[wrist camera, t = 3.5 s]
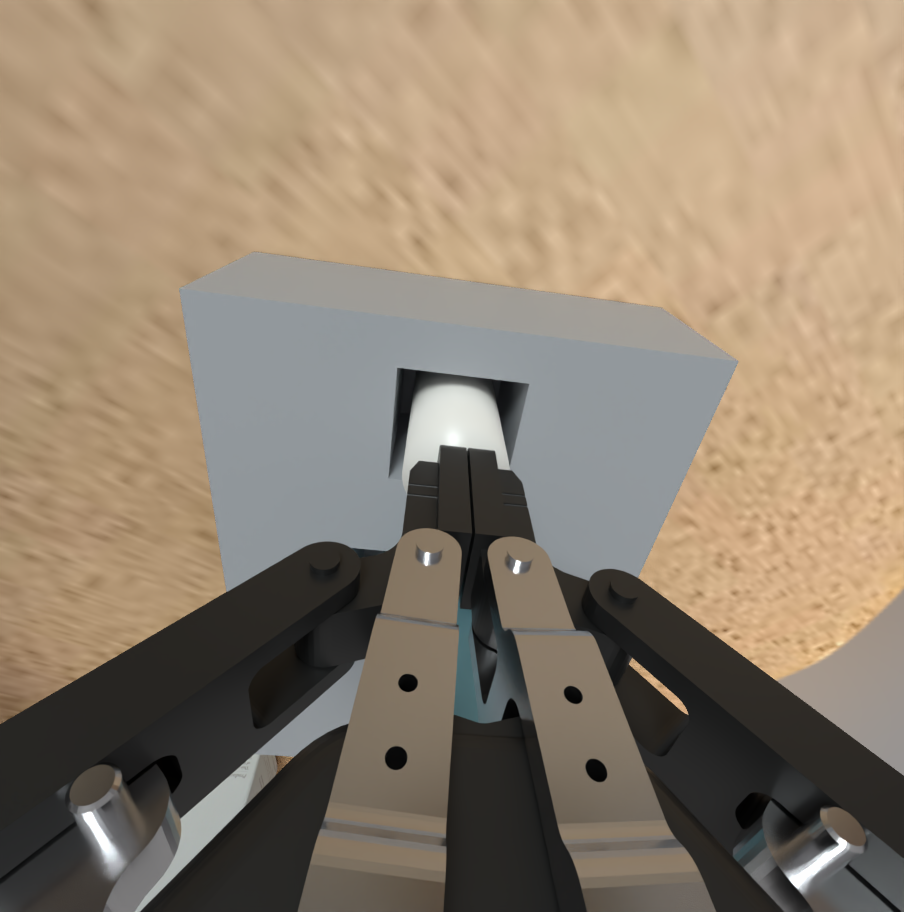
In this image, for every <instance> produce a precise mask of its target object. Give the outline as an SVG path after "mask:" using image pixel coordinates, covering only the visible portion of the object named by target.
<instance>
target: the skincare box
mask: <svg viewBox="0 0 904 912" xmlns="http://www.w3.org/2000/svg"><path fill="white" fill-rule="evenodd" d="M276 772H277V762H276V757H275V755H258V754H254V755H253V756H252V757H250V758H249V759H248V760H247V761H246V762H245V763H244V764H242V765H241V766H240V767H239V768H238V769H237V770H236V771H234V772H233V773H232V774H231V775H230V776H229V777H228V778H226V779H225V780H224V781H223V782H222V783H221V784H220V785H219V786H217V787H216V788H215V789H214V790H213V791H212V792H211V793H209V794H208V795H207V796H206V797H205V798H204V799H203V800H201V801H200V802H199V803H198V804H197V805H196V806H195V807H193V808H192V809H191V810H190V811H189V812H188V813H187V814H185V815H184V816H183V817H182V818H181V819H180V820H181V838H180V842H179V846H178V849H177V852H176V854H175V857H174V859H173V861H172V862H171V864H170V866H169V868H168V869H167V871H166V872H165V874H164V875H163V876H162V878H161V879H160V880H159V881H158V882H157V883H156V885H155V886H154V887H153V888H152V889H151V890H150V891H149V893H148V894H147V895H146V896H145V897H144V899H143V900H142V902H141V903H140V905H139V906H138V907H137V909H136V911H135V912H140V911H141V910H142V909H143V908H144V907H145V906H146V905H147V904H148V903H149V902H150V901H151V900H152V899H153V898H154V897H155V896H156V895H157V894H158V893H159V892H160V891H161V890H162V889H163V888H164V887H165V886H166V885H167V884H168V883H169V882H170V881H171V880H172V879H173V878H174V877H175V876H176V875H177V874H178V873H179V872H180V871H181V870H182V869H183V868H184V867H185V866H186V865H187V864H188V863H189V862H190V861H191V860H192V859H193V858H194V857H195V856H196V855H197V854H198V853H199V852H200V851H201V850H202V849H203V848H204V847H205V846H206V845H207V844H208V843H209V842H210V841H211V840H212V839H213V838H214V837H215V836H216V835H217V834H218V833H219V832H220V831H221V830H222V829H223V828H224V827H225V826H226V825H227V824H228V823H229V822H230V821H231V820H232V819H233V818H234V817H235V816H236V815H237V814H238V813H239V812H240V811H241V810H242V809H243V808H244V807H245V806H246V805H247V804H248V803H249V802H250V801H251V800H252V799H253V798H254V797H255V796H256V795H257V794H258V793H259V792H260V791H261V790H262V789H263V788H264V787H265V786H266V785H267V784H268V783H269V782H270V781H271V780H272V779H273V778H274V777H275V776H276Z"/></svg>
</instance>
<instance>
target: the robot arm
mask: <svg viewBox="0 0 904 912" xmlns="http://www.w3.org/2000/svg"><path fill="white" fill-rule="evenodd" d="M459 596H460V609H470V610H471V613H472V622H471V627H470V631H469V636H468V638H469V648H470V656H471V663H472V671H473V679H474V687H475V695H476V702H477V710H478V722H475V721H472V720H469V719H466V718H463V717H460V716H457V715H454V701H455V686H456V671H457V656H458V641H459V625H457V612H458V601H459ZM632 658H633V659H635V660H636V661H637V662H638V663H639V664H640V665H641V666H643V667H644V668H645V669H646V670H647V671H648V672H649V673H651V674H652V675H653V676H654V677H655V678H656V679H657V680H659V681H660V682H661V683H662V684H663V685H664V686H666V687H667V688H668V689H669V690H670V691H671V692H672V693H674V694H675V695H676V696H677V697H678V698H679V699H680V700H681V701H682V702H683V704H684V705H685V707H686V709H687V711H688V714H689V715H687V714H685V713H683V712H682V711H681V710H679V709H678V708H677V707H676V706H675V705H674V704H673V703H671V702H670V701H669V700H668V699H667V698H666V697H665V696H664V695H662V694H661V693H660V692H659V691H658V690H657V689H656V688H655V687H653V686H652V685H651V684H650V683H649V682H648V681H647V680H646V679H644V678H643V677H642V676H641V675H640V674H639V673H638V672H637V671H635V670H634V669H633V668H632V667H631V666H630V665H629V663H630V661H631V659H632ZM363 659H365V661H364V665H363V669H362V673H361V677H360V681H359V685H358V689H357V693H356V697H355V701H354V705H353V709H352V713H351V717H350V721H349V724H346V725H343V726H340V727H338V728H336V729H333V730H331V731H329V732H327V733H325V734H324V735H322V736H321V737H319V738H317V739H316V740H314V741H313V742H311V743H310V744H309V745H308V746H306V747H305V748H304V749H302V750H301V751H300V752H299V753H298V754H297V755H296V756H295V757H294V758H293V759H292V760H291V761H290V762H289V763H288V764H287V765H286V766H285V767H284V768H283V769H282V770H281V771H280V772H279V773H278V774H277V775H276V776H275V777H274V778H273V779H272V780H271V781H270V782H269V783H268V784H267V785H266V786H265V787H264V788H263V789H262V790H261V791H260V792H259V793H258V794H257V795H256V796H255V797H254V798H253V799H252V800H251V801H250V802H249V803H248V804H247V805H246V806H245V807H244V808H243V809H242V810H241V811H240V812H239V813H238V814H237V815H236V816H235V817H234V818H233V819H232V820H231V821H230V822H229V823H228V824H227V825H226V826H225V827H224V828H223V829H222V830H221V831H220V832H219V833H218V834H217V835H216V836H215V837H214V838H213V839H212V840H211V841H210V842H209V843H208V844H207V845H206V846H205V847H204V848H203V849H202V850H201V851H200V852H199V853H198V854H197V855H196V856H195V857H194V858H193V859H192V860H191V861H190V862H189V863H188V864H187V865H186V866H185V867H184V868H183V869H182V870H181V871H180V872H179V873H178V874H177V875H176V876H175V877H174V878H173V879H172V880H171V881H170V882H169V883H168V884H167V885H166V886H165V887H164V888H163V889H162V890H161V891H160V892H159V893H158V894H157V895H156V896H155V897H154V898H153V899H152V900H151V901H150V902H149V903H148V904H147V905H146V906H145V907H144V908H143V909H142V910H141V911H140V912H904V776H903V775H902V774H901V773H899V772H898V771H896V770H895V769H894V768H892V767H891V766H890V765H888V764H887V763H886V762H884V761H883V760H882V759H880V758H879V757H878V756H876V755H875V754H874V753H872V752H871V751H870V750H868V749H867V748H866V747H864V746H863V745H862V744H860V743H859V742H858V741H856V740H855V739H853V738H852V737H851V736H850V735H848V734H847V733H845V732H844V731H843V730H841V729H840V728H839V727H837V726H836V725H835V724H833V723H832V722H831V721H829V720H828V719H827V718H825V717H824V716H823V715H821V714H820V713H819V712H817V711H816V710H815V709H813V708H812V707H811V706H809V705H808V704H807V703H805V702H804V701H803V700H801V699H800V698H798V697H797V696H795V695H794V694H793V693H792V692H790V691H789V690H788V689H786V688H785V687H784V686H782V685H781V684H780V683H778V682H777V681H776V680H774V679H773V678H772V677H770V676H769V675H768V674H766V673H765V672H764V671H762V670H761V669H760V668H758V667H757V666H756V665H754V664H753V663H752V662H750V661H749V660H747V659H746V658H745V657H743V656H742V655H741V654H739V653H738V652H737V651H735V650H734V649H733V648H731V647H730V646H729V645H727V644H726V643H725V642H723V641H722V640H721V639H719V638H718V637H717V636H715V635H714V634H713V633H711V632H710V631H709V630H707V629H706V628H705V627H703V626H702V625H701V624H699V623H698V622H696V621H695V620H694V619H692V618H691V617H690V616H688V615H687V614H686V613H684V612H683V611H682V610H680V609H679V608H678V607H676V606H675V605H674V604H672V603H671V602H670V601H668V600H667V599H666V598H664V597H663V596H662V595H660V594H659V593H658V592H656V591H655V590H654V589H652V588H651V587H649V586H648V585H647V584H645V583H644V582H643V581H641V580H640V579H638V578H637V577H635V576H633V575H632V574H629V573H627V572H624V571H621V570H617V569H602V570H599V571H597V572H595V573H594V574H593V575H592V576H591V577H590V580H589V581H588V580H585V579H582V578H579V577H576V576H573V575H570V574H568V573H565V572H563V571H561V570H559V569H557V568H555V567H554V566H552V563H551V560H550V558H549V556H548V554H547V553H546V552H545V551H544V550H543V548H541V547H540V546H539V545H537V544H536V540H535V536H534V532H533V527H532V523H531V519H530V514H529V510H528V508H527V501H526V497H525V492H524V488H523V483H522V481H521V480H520V479H519V478H518V477H517V476H516V474H515V473H514V472H513V471H512V470H503V469H498V465H497V459H496V453H495V451H494V450H485V449H476V448H468V450H467V448H466V447H457V446H448V445H440V447H439V453H438V460H437V462H427V461H418V462H417V463H416V464H415V466H414V467H413V468H412V469H411V470H410V474H409V482H408V490H407V498H406V507H405V515H404V523H403V531H402V536H401V538H400V540H399V542H398V543H397V544H396V545H395V546H394V547H393V548H391V549H390V550H388V551H386V552H384V553H381V554H378V555H373V556H368V557H361V558H359V556H358V555H357V553H356V552H355V551H354V550H353V549H352V548H350V547H348V546H347V545H344V544H342V543H338V542H331V541H324V542H317V543H313V544H310V545H307V546H305V547H303V548H301V549H300V550H298V551H296V552H294V553H293V554H291V555H289V556H288V557H286V558H284V559H282V560H281V561H279V562H277V563H276V564H274V565H272V566H270V567H269V568H267V569H265V570H264V571H262V572H260V573H258V574H257V575H255V576H253V577H252V578H250V579H248V580H246V581H245V582H243V583H241V584H240V585H238V586H236V587H234V588H233V589H231V590H229V591H228V592H226V593H224V594H223V595H221V596H219V597H217V598H216V599H214V600H212V601H211V602H209V603H207V604H205V605H204V606H202V607H200V608H199V609H197V610H195V611H193V612H192V613H190V614H188V615H187V616H185V617H183V618H181V619H180V620H178V621H176V622H175V623H173V624H171V625H169V626H168V627H166V628H164V629H163V630H161V631H159V632H157V633H156V634H154V635H152V636H151V637H149V638H147V639H145V640H144V641H142V642H140V643H139V644H137V645H135V646H134V647H132V648H130V649H128V650H127V651H125V652H123V653H122V654H120V655H118V656H116V657H115V658H113V659H111V660H110V661H108V662H106V663H104V664H103V665H101V666H99V667H98V668H96V669H94V670H92V671H91V672H89V673H87V674H86V675H84V676H82V677H80V678H79V679H77V680H75V681H74V682H72V683H70V684H68V685H67V686H65V687H63V688H62V689H60V690H58V691H56V692H55V693H53V694H51V695H50V696H48V697H46V698H45V699H43V700H41V701H39V702H38V703H36V704H34V705H33V706H31V707H29V708H27V709H26V710H24V711H22V712H21V713H19V714H17V715H15V716H14V717H12V718H10V719H9V720H7V721H5V722H3V723H2V724H0V912H135V911H136V909H137V907H138V906H139V905H140V903H141V902H142V900H143V899H144V897H145V896H146V895H147V894H148V893H149V891H150V890H151V889H152V888H153V887H154V886H155V885H156V883H157V882H158V881H159V880H160V879H161V878H162V876H163V875H164V874H165V872H166V871H167V869H168V868H169V866H170V864H171V862H172V861H173V859H174V857H175V854H176V852H177V849H178V846H179V842H180V838H181V820H180V819H181V818H182V817H183V816H184V815H185V814H187V813H188V812H189V811H190V810H191V809H192V808H193V807H195V806H196V805H197V804H198V803H199V802H200V801H201V800H203V799H204V798H205V797H206V796H207V795H208V794H209V793H211V792H212V791H213V790H214V789H215V788H216V787H217V786H219V785H220V784H221V783H222V782H223V781H224V780H225V779H226V778H228V777H229V776H230V775H231V774H232V773H233V772H234V771H236V770H237V769H238V768H239V767H240V766H241V765H242V764H244V763H245V762H246V761H247V760H248V759H249V758H250V757H252V756H253V755H254V754H255V753H256V752H257V751H258V750H260V749H261V748H262V747H263V746H264V745H265V744H266V743H267V742H269V741H270V740H271V739H272V738H273V737H274V736H275V735H277V734H278V733H279V732H280V731H281V730H282V729H283V728H285V727H286V726H287V725H288V724H289V723H290V722H291V721H293V720H294V719H295V718H296V717H297V716H298V715H299V714H301V713H302V712H303V711H304V710H305V709H306V708H307V707H308V706H310V705H311V704H312V703H313V702H314V701H315V700H316V699H318V698H319V697H320V696H321V695H322V694H323V693H324V692H326V691H327V690H328V689H329V688H330V687H331V686H332V685H334V684H335V683H336V682H337V681H338V680H339V679H340V678H342V677H343V676H344V675H345V674H346V673H347V672H348V671H349V670H350V669H351V667H352V666H353V664H354V662H355V661H358V660H363Z"/></svg>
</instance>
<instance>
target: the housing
mask: <svg viewBox="0 0 904 912" xmlns="http://www.w3.org/2000/svg"><path fill="white" fill-rule="evenodd" d="M179 291H180V297H181V304H182V310H183V316H184V323H185V329H186V336H187V342H188V348H189V355H190V361H191V367H192V374H193V380H194V387H195V393H196V399H197V406H198V412H199V419H200V425H201V431H202V438H203V444H204V450H205V457H206V463H207V470H208V476H209V482H210V489H211V495H212V502H213V508H214V514H215V521H216V527H217V533H218V540H219V546H220V553H221V559H222V565H223V572H224V578H225V585H226V591H227V592H228V591H229V590H231V589H233V588H234V587H236V586H238V585H240V584H241V583H243V582H245V581H246V580H248V579H250V578H252V577H253V576H255V575H257V574H258V573H260V572H262V571H264V570H265V569H267V568H269V567H270V566H272V565H274V564H276V563H277V562H279V561H281V560H282V559H284V558H286V557H288V556H289V555H291V554H293V553H294V552H296V551H298V550H300V549H301V548H303V547H305V546H307V545H310V544H313V543H317V542H324V541H331V542H338V543H342V544H344V545H347V546H348V547H350V548H352V549H353V550H354V551H355V552H356V553H357V555H358V556H359V558H361V557H368V556H373V555H378V554H381V553H382V552H383V551H388V550H390V549H391V548H393V547H394V546H395V545H396V544H397V543H398V542H399V540H400V538H401V536H402V531H403V523H404V515H405V507H406V498H407V493H406V491H405V489H404V486H403V481H402V469H403V462H404V455H405V448H406V441H407V434H408V427H409V419H410V412H411V405H412V398H413V391H414V384H415V377H416V371H417V370H421V371H429V372H437V373H445V374H453V375H462V376H470V377H478V378H486V379H492V383H493V388H494V393H495V398H496V402H497V407H498V412H499V417H500V422H501V427H502V432H503V436H504V441H505V446H506V451H507V456H508V461H509V466H510V470H512V471H513V472H514V473H515V474H516V476H517V477H518V478H519V479H520V480H521V481H522V483H523V488H524V492H525V497H526V501H527V508H528V510H529V514H530V519H531V523H532V527H533V532H534V536H535V540H536V544H537V545H539V546H540V547H541V548H543V550H544V551H545V552H546V553H547V554H548V556H549V558H550V560H551V563H552V566H554V567H555V568H557V569H559V570H561V571H563V572H565V573H568V574H570V575H573V576H576V577H579V578H582V579H585V580H588V581H589V580H590V577H591V576H592V575H593V574H594V573H595V572H597V571H599V570H602V569H617V570H621V571H624V572H627V573H629V574H632V575H633V576H635V577H637V578H638V576H639V574H640V572H641V570H642V568H643V566H644V564H645V561H646V559H647V557H648V555H649V553H650V551H651V549H652V546H653V544H654V542H655V540H656V538H657V536H658V534H659V531H660V529H661V527H662V525H663V523H664V521H665V518H666V516H667V514H668V512H669V510H670V508H671V506H672V503H673V501H674V499H675V497H676V495H677V493H678V491H679V488H680V486H681V484H682V482H683V480H684V478H685V476H686V473H687V471H688V469H689V467H690V465H691V463H692V460H693V458H694V456H695V454H696V452H697V450H698V448H699V445H700V443H701V441H702V439H703V437H704V435H705V433H706V430H707V428H708V426H709V424H710V422H711V420H712V418H713V415H714V413H715V411H716V409H717V407H718V405H719V402H720V400H721V398H722V396H723V394H724V392H725V390H726V387H727V385H728V383H729V381H730V379H731V377H732V375H733V372H734V370H735V368H736V366H737V364H738V362H739V361H738V360H736V359H735V358H733V357H732V356H730V355H729V354H728V353H726V352H725V351H723V350H722V349H720V348H719V347H718V346H716V345H715V344H713V343H712V342H710V341H709V340H707V339H706V338H705V337H703V336H702V335H700V334H699V333H697V332H696V331H695V330H693V329H692V328H690V327H689V326H687V325H686V324H684V323H683V322H682V321H680V320H679V319H677V318H676V317H674V316H673V315H672V314H670V313H669V312H667V311H666V310H664V309H663V308H660V307H653V306H646V305H638V304H631V303H624V302H616V301H609V300H602V299H595V298H587V297H580V296H573V295H565V294H558V293H551V292H544V291H536V290H529V289H522V288H515V287H507V286H500V285H493V284H485V283H478V282H471V281H464V280H456V279H449V278H442V277H434V276H427V275H420V274H413V273H405V272H398V271H391V270H384V269H376V268H369V267H362V266H354V265H347V264H340V263H333V262H325V261H318V260H311V259H303V258H296V257H289V256H282V255H274V254H267V253H260V252H253V253H251V254H249V255H246V256H244V257H242V258H240V259H238V260H236V261H234V262H232V263H230V264H228V265H226V266H224V267H222V268H220V269H218V270H216V271H214V272H212V273H210V274H208V275H206V276H204V277H201V278H199V279H197V280H195V281H193V282H191V283H189V284H187V285H185V286H183V287H181V288H179ZM364 661H365V659H363V660H358V661H355V662H354V664H353V666H352V667H351V669H350V670H349V671H348V672H347V673H346V674H345V675H344V676H343V677H342V678H340V679H339V680H338V681H337V682H336V683H335V684H334V685H332V686H331V687H330V688H329V689H328V690H327V691H326V692H324V693H323V694H322V695H321V696H320V697H319V698H318V699H316V700H315V701H314V702H313V703H312V704H311V705H310V706H308V707H307V708H306V709H305V710H304V711H303V712H302V713H301V714H299V715H298V716H297V717H296V718H295V719H294V720H293V721H291V722H290V723H289V724H288V725H287V726H286V727H285V728H283V729H282V730H281V731H280V732H279V733H278V734H277V735H275V736H274V737H273V738H272V739H271V740H270V741H269V742H267V743H266V744H265V745H264V746H263V747H262V748H261V749H260V750H258V751H257V752H256V753H255V754H258V755H275V756H292V757H295V756H296V755H297V754H298V753H299V752H300V751H301V750H302V749H304V748H305V747H306V746H308V745H309V744H310V743H311V742H313V741H314V740H316V739H317V738H319V737H321V736H322V735H324V734H325V733H327V732H329V731H331V730H333V729H336V728H338V727H340V726H343V725H346V724H349V721H350V717H351V713H352V709H353V705H354V701H355V697H356V693H357V689H358V685H359V681H360V677H361V673H362V669H363V665H364Z"/></svg>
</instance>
